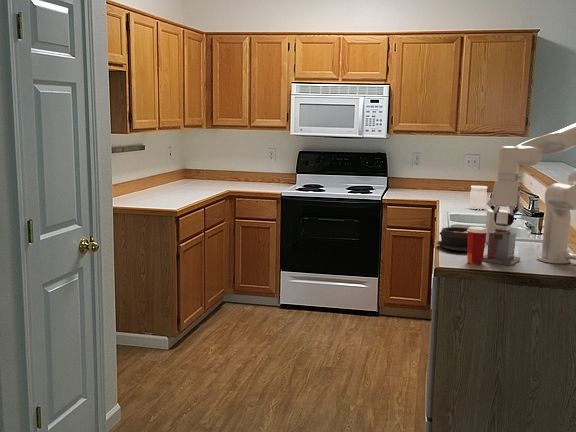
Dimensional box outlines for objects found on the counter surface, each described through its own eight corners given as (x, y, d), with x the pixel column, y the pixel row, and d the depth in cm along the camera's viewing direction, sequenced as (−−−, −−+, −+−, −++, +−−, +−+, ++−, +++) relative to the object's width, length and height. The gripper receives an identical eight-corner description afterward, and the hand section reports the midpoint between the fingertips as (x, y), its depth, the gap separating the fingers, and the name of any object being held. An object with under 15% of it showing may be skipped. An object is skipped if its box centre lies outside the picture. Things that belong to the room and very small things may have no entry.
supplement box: (507, 245, 286) (510, 212, 283) (487, 244, 287) (489, 211, 285) (503, 241, 294) (506, 210, 292) (484, 240, 296) (486, 208, 294)
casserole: (482, 256, 260) (484, 236, 259) (436, 252, 264) (437, 233, 263) (479, 245, 284) (480, 226, 283) (436, 242, 288) (438, 223, 287)
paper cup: (488, 263, 247) (491, 228, 244) (479, 266, 241) (482, 230, 239) (469, 260, 252) (472, 225, 250) (460, 262, 246) (463, 227, 244)
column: (508, 257, 252) (511, 212, 249) (504, 258, 248) (508, 213, 246) (496, 255, 255) (500, 211, 252) (493, 257, 251) (496, 212, 248)
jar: (475, 207, 412) (476, 185, 409) (489, 209, 404) (490, 186, 401) (465, 208, 405) (467, 185, 403) (479, 210, 397) (481, 187, 395)
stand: (520, 261, 253) (522, 232, 251) (510, 265, 243) (513, 236, 242) (490, 256, 260) (493, 228, 258) (480, 260, 251) (482, 232, 249)
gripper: (532, 179, 245) (528, 225, 247) (489, 175, 255) (485, 220, 257) (526, 180, 239) (522, 227, 241) (482, 176, 249) (479, 222, 252)
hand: (503, 223), depth 249 cm, fingers closed on column, 4 cm apart
